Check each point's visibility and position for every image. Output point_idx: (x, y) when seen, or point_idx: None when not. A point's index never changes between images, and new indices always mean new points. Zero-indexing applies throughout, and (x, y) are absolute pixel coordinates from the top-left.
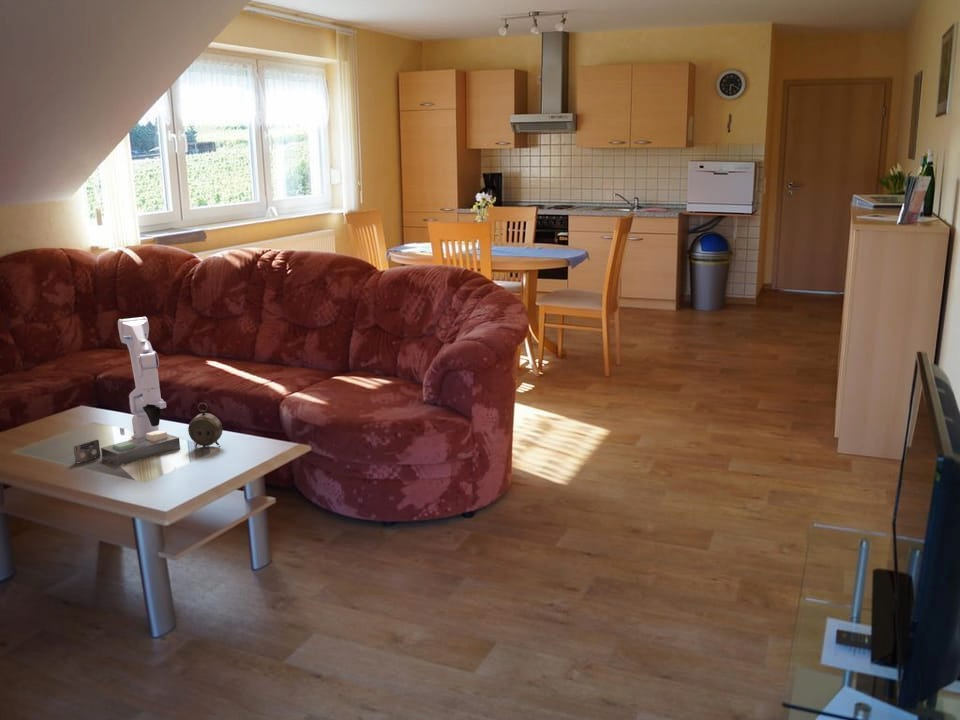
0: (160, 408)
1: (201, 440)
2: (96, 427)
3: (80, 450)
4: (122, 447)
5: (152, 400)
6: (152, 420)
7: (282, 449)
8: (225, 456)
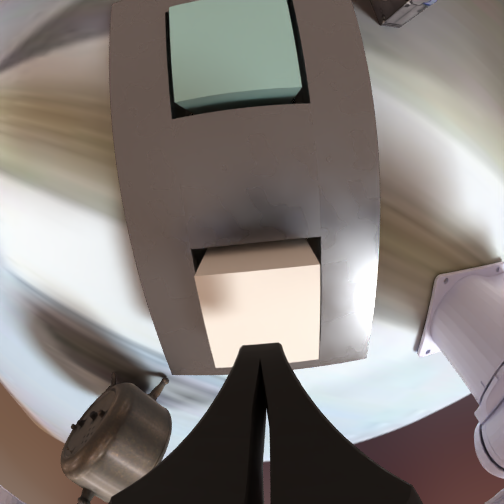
0: (2, 487)
1: (107, 396)
2: None
3: None
4: (171, 22)
5: None
6: (222, 389)
7: (44, 423)
8: (29, 358)
